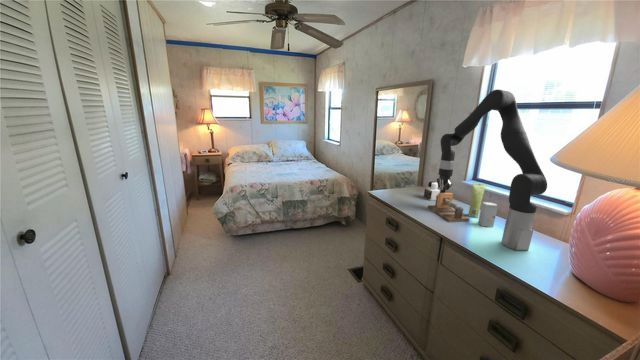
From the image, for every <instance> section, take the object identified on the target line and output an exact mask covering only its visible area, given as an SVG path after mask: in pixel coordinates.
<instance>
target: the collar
mask: <svg viewBox="0 0 640 360" xmlns="http://www.w3.org/2000/svg"><path fill="white" fill-rule="evenodd" d="M443 198H446V199H448V200H450V201H452V202H453V198H454V193H452V192H445V193H438V199H437V207H438V208H447V207H450V206H448V205H446V204H445V203H443ZM450 208H451V207H450Z"/></svg>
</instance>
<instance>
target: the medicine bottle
mask: <svg viewBox="0 0 640 360" xmlns="http://www.w3.org/2000/svg"><path fill="white" fill-rule="evenodd" d="M438 188H439V187H438V183H437V181H428V184H427V187H425V188H424V192H423V198H424V199H426V200H428V201H436V196H437V195H438V193H440V190H441V189H440V188H439V189H438Z"/></svg>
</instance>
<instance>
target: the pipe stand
mask: <svg viewBox="0 0 640 360" xmlns="http://www.w3.org/2000/svg"><path fill="white" fill-rule="evenodd" d="M437 199H438V195H437V196H436V200H435V204H433V205H432V204H431V205H430V204H429V205H428V206H427V208H428V209H429V210H430V211H432V212H433V213H435V214H437V215H438V216H439V217H441V218H442V219H444V220H445V221H447V222H448V223H452V222H453V223H456V222H457V223H459V222H470V218H469V217H467V216H465V215H463V211H464V207H463V206H460V205H459V204H457V203H455V202H454V201H453V200H452V201H450V200H448V199H447V198H443V203H445V204H446V205H448V206H450V207H447V208H438V207H437Z"/></svg>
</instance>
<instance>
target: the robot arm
mask: <svg viewBox="0 0 640 360" xmlns="http://www.w3.org/2000/svg"><path fill="white" fill-rule="evenodd" d="M491 111H497V112H498V113H499V115H500V118H501V120H502V127H501V130H500V141H501V144H502V146H503V149H504V151H505V152H506V153H507V155H508V156H509V157H510V158H511V159H512V160H514V162H515V163H516V164H517V165H518V166H519V168H520V171H521V173H518V174H516V175H515V176H513V178H512V180H511V181H510V182H511V183H510V187H509V195H508V204H509V205H508V206H509V207H508V211H507V214H506V220H505V223H504V229H503V232H502V233H503V234H502V236H501V237H502V238H501V244H502V245H503V246H505V247H506V248H509V249H512V250H515V251H529V250H530V245H531V241H532V238H533V233H534V229H532V228H533V223H534V219H535V215H536V212H537V205H536V204H534V203H532V202H531V197H532V196H539V195H542V194H544V193H545V192H546V191H547V189H548V181H547V178H546V176H545V174H544V172H543V171H542V169H541V167H540V165H539V163H538V161H537V159H536V156H535V153H534V152H533V149H532V147H531V143H530V141H529V138H528V134H527V132H526V130H525V128H524V125H523V122H522V120H521V117H520V115H519V110H518V105H517V101H516V97H515V95H514V94H513V92H511V91H508V90H503V89H494V90H492V91H490V92H489V93H488V94H487V95H486V96H485V97H484V98H483V99H482V100H481V102H480V103H478V105H477V106H476V107H475V108H474V109H473V110H472V112H471V113H470V114H469V115H468V116H467V117H466V118H465V119H464V120H462V121H461V122H460V123H458V125H457V126H455V128H454V132H453V133H444V134H443V135H442V136H441V137H440V150H441V155H440V156H441V157H440V161H439V168H438V176H439V178H436V182H437V183H438V188H439V190H440V193H446V191H447V190H448V191H449V189H450V188H451V187H452V186H453V182H451V177H453V172H454V167H455V166H454V165H455V158H456V157H455V156H456V152H455V151H454V150H452V147H455V146H457V145H460V143H461V142H462V141H463V140H464V138H465V137H466V136H467V135H469V134H470V133H471V132H472V131H474V130H475V129H476V128H477V127H478V125H479V123H480V121H481V119H483V117H484V116H485V115H486V114H488V113H489V112H491Z"/></svg>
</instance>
